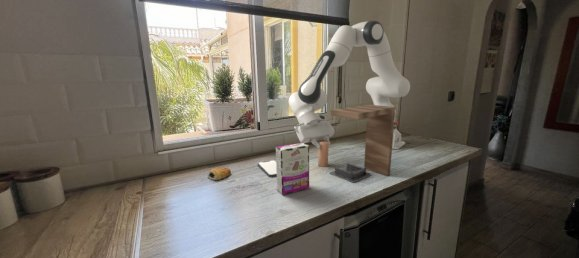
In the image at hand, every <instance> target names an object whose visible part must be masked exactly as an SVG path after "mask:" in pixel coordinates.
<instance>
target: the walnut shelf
mask: <svg viewBox="0 0 579 258" xmlns="http://www.w3.org/2000/svg"><path fill="white" fill-rule="evenodd" d="M395 109H396V106H394V107H388V106H378V105H374V104H363V105H355V106H349V107H341V108H334V109H330V116H331V117H333V116H334V117H339V118H346V119H351V120H352V119H353V120H364V119H366V127H365V128H366V131H365V146H364V163H363V168H365V169H366V171H370V172H373V173H376V174H379V175H383V176H386V177H388V176H390V175H391V168H392V167H391V166H392V154H393V149H392V143H393V131H394V118H395V119H396V113H395Z"/></svg>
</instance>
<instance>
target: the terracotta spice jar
mask: <svg viewBox="0 0 579 258" xmlns="http://www.w3.org/2000/svg"><path fill="white" fill-rule="evenodd" d="M329 142H330V141H329ZM329 142H328V141H325V140H318V143H320V144H321V145H322V147H321V148H319V149H318V148H317V149H318V160H317V164H318V165H317V166H319V167H320V168H326V167H328V166H329V151H330V150H329V148H330V147H329Z"/></svg>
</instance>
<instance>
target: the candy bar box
mask: <svg viewBox="0 0 579 258" xmlns="http://www.w3.org/2000/svg"><path fill="white" fill-rule="evenodd" d="M275 161H276V171H277V177H276V190H277V191H278V192H279V193H280V194H281V195H282V196H285V195H289V194H293V193H297V192H300V191H305V190H308V189H310V145H309V144H307V143H301V142H299V143H294V144H286V145H281V146H275Z"/></svg>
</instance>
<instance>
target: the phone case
mask: <svg viewBox="0 0 579 258" xmlns="http://www.w3.org/2000/svg"><path fill="white" fill-rule="evenodd" d="M257 167H259V169H260V170H261V171H262V172H263V173H264V174H265V176H267V177H268V178H275V177H276V178H277V171H276V160H267V161H259V162H257Z"/></svg>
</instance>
